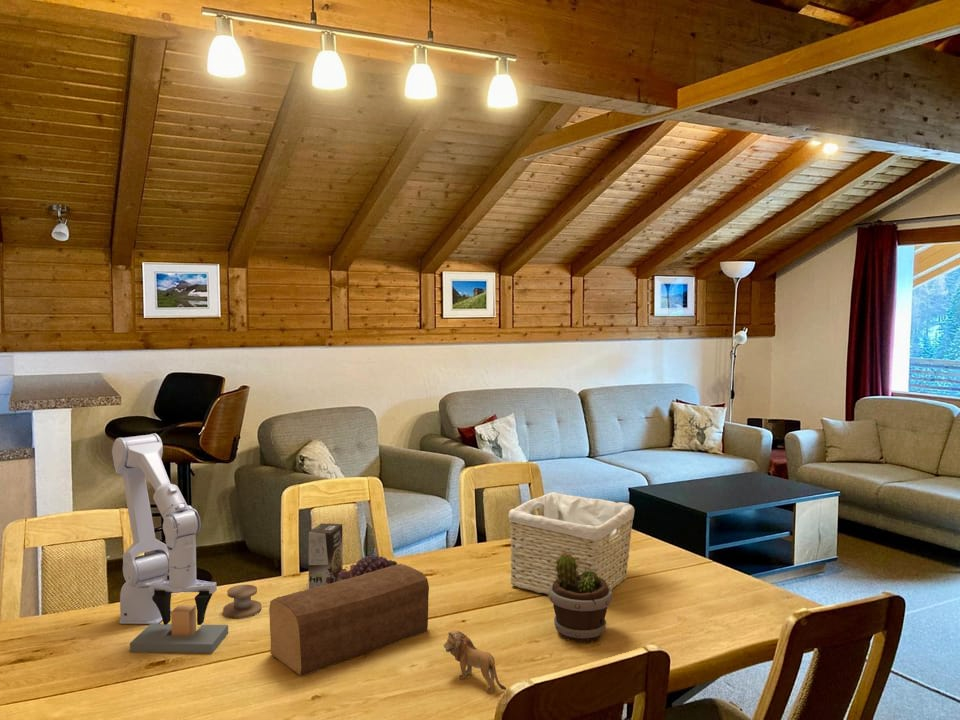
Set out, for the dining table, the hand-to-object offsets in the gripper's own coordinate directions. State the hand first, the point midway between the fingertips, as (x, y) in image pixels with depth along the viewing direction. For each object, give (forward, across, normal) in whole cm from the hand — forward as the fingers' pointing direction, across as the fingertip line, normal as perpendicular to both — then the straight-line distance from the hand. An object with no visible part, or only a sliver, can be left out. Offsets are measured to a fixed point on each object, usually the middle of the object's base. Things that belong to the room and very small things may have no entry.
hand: (183, 623), depth 173 cm
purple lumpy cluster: (+4, +38, +29) cm, 48 cm away
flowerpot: (+4, +90, +6) cm, 90 cm away
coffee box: (+4, +25, +33) cm, 42 cm away
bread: (+4, +38, -1) cm, 39 cm away
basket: (+4, +91, +38) cm, 99 cm away
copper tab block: (+4, 0, 0) cm, 4 cm away
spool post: (+4, +8, +16) cm, 18 cm away
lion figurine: (+4, +66, -17) cm, 68 cm away
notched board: (+4, 0, -2) cm, 4 cm away
